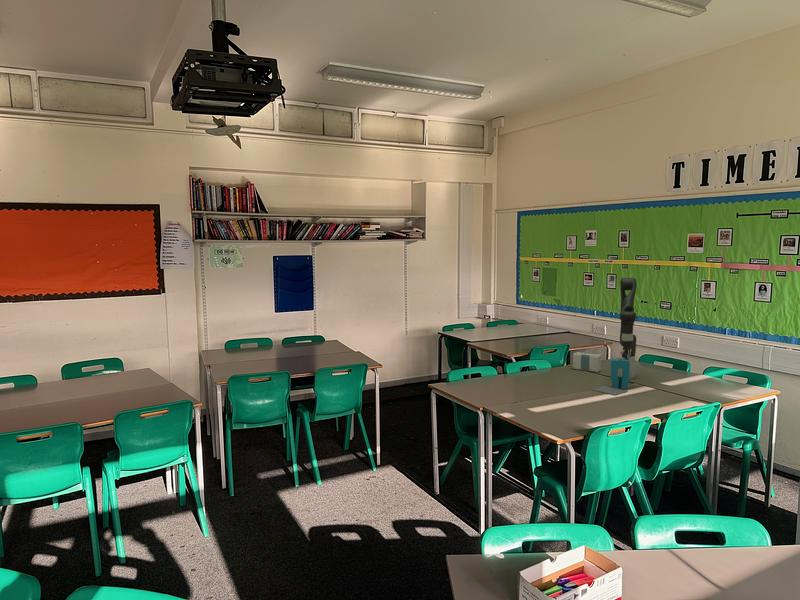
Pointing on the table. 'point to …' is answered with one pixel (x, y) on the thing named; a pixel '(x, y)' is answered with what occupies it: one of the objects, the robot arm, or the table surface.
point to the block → (625, 366)
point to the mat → (609, 390)
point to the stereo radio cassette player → (587, 361)
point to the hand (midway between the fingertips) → (626, 363)
